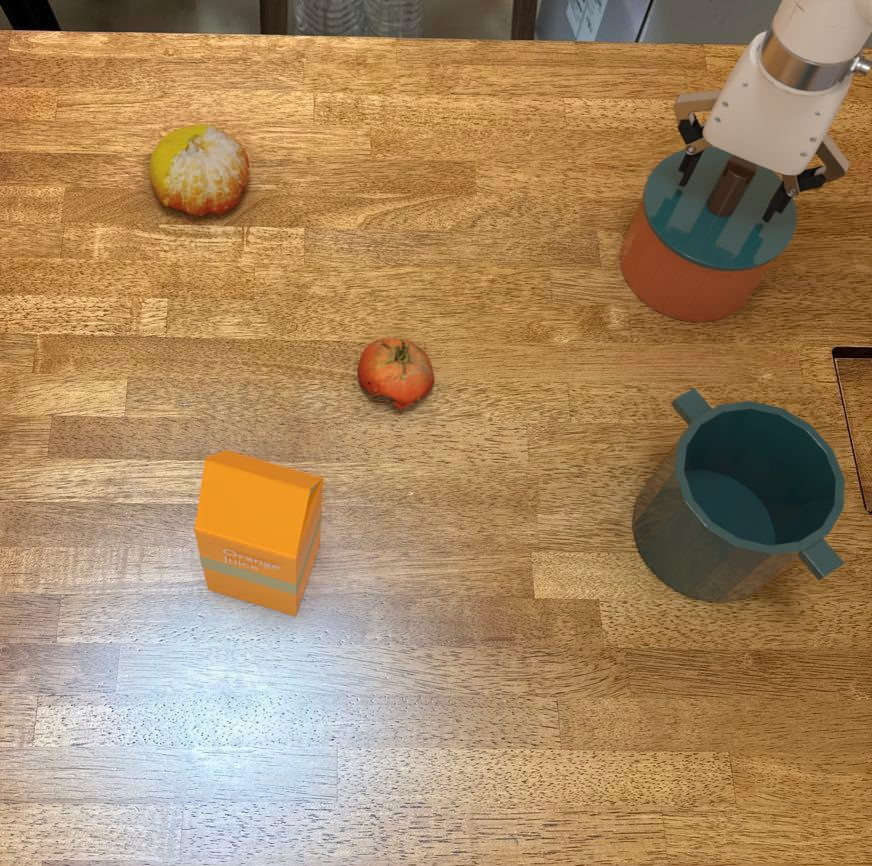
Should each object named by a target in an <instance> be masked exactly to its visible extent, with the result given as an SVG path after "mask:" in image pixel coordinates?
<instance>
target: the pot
mask: <svg viewBox="0 0 872 866" xmlns="http://www.w3.org/2000/svg"><path fill="white" fill-rule="evenodd" d="M670 405H671V407H672V408H673V409H674V410H675V411H676V412H677V414H678V415H679V416H680V418H681V419H682V420H683V421H684V422H685V423H686V425H687V426H688V427H686V429H685V430H684V432H683V433H682V435H681V436H680V437H679V438H678V440H677V441H676V442H675V444H674V445H673V447H672V448H671V450H670V451H669V452H668V454H667V455H666V456H665V458H664V459H663V461H662V462H661V464H660V465H659V466H658V468H657V469H656V470H655V472H654V473H653V475H652V476H651V478H650V479H649V480H648V481H647V484H646V485H645V486H644V488H643V489H642V491H641V492H640V494H639V495H638V497H637V498H636V500H635V505H634V509H633V514H632V533H633V537H634V538H633V539H634V542H635V544H636V548H637V550H638V552H639V554H640V556H641V558H642V560H643V561H644V563H645V564H646V566H647V567H648V568H649V570H650V571H651V572H652V573H653V574H654V575H655V576H656V577H657V578H658V579H659V580H660V581H661V582H662V583H663V584H665V585H666V586H668V587H669V588H671V589H672V590H674V591H676V592H677V593H679V594H681V595H684V596H687V597H689V598H692V599H696V600H698V601H703V602H709V603H727V602H733V601H738V600H741V599H745V598H748V597H750V596H751V595H753V594H754V593H756V592H758V591H759V590H761V589H762V588H764V587H765V586H768V584H770V583H771V582H772V581H774V579H776V578H777V577H779V575H781V574H782V573H783V572H784V571H785V570H787V569H788V568H790V567H791V566H792V565H793V564H794V563H795V562H796V561H798V560H799V559H800V561H801V562H802V563H803V564H804V565H805V567H806V568H807V569H808V570H809V571H810V573H811V574H812V575H813V576H814V577H815V579H816V580H818V581H821V580H823V579H824V578H826V577H827V576H829V575H830V574H832V573H833V572H835V571H836V570H838V569H840V568H842V566H844V565H845V562H844V560H843V559H842V558H841V557H840V556H839V554H837V553H836V551H835V550H834V549H833V548H832V546H831V545H830V544H829V543H828V542H827V540H826V539H825V538H826V537H828V535H830V533H831V532H832V530H833V528H834V526H835V525H836V523H837V521H838V519H839V518H840V516H841V514H842V513H843V510H844V509H845V487H846V486H845V485H846V479H845V476H844V474H843V471H842V469H841V466H840V463H839V461H838V458H837V456H836V453H835V451H834V449H833V448H832V447H831V446H830V445H829V443H828V442H827V441H826V440H825V439H824V437H823V436H821V434H820V433H819V432H818V431H817V430H816V429H815V428H814V426H813V425H811V424H810V423H808V422H807V421H805V420H803V419H801V418H800V417H798V416H797V415H794V414H793V413H791V412H790V411H788V410H787V409H785V408H783V407H780V406H774V405H770V404H767V403H761V402H756V401H753V400H752V401H751V400H746V401H737V402H730V403H721V404H718V405H716V406H714V407H712V406H711V405H710V404H709V403H708V402H707V401H706V400H705V398H704V397H703V396H702V395H701V394H700V392H698V390H697V389H696V388H695V387H694V388H691V389H690V390H688V391H686V392H684V393H682V394H680V395H679V396H677V397H675V398H674V399H673V401H672V402H671V404H670Z"/></svg>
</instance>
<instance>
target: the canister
mask: <svg viewBox="0 0 872 866" xmlns="http://www.w3.org/2000/svg"><path fill="white" fill-rule="evenodd" d="M622 243H623V244H622ZM622 243H621V247H620V252H621V253H620V252H619V253H620V254H619V261H620V262H621V263H620V268H621V273H622V275H623V277H624V279H625V282H626V283H627V285H628V287H629V288H630V290H631V291H632V292H633V293H634V294H635V295H636V297H637V298H639V299H640V301H642V302H643V303H644V304H645V305H647V307H649V308H651V309H652V310H654V311H656V312H657V313H659V314H662V315H664V316H667V317H669V318H671V319H675V320H679V321H685V322H692V323H705V322H706V323H707V322H713V321H718V320H721V319H724V318H727V317H729V316H731V315H733V314H735V313H736V312H737V311H739V310H740V309H742V307H743V306H744V305H745V304H746V303H747V302H748V301H749V299H750V298H751V296H753V294H755V292H756V290H757V289H758V287H759V286H760V284H761V283H762V281H763V280H764V278H765V277H766V275H767V274H768V273H769V271H770V269H771V268H772V267H773V265H774V264H775V262H776V261H777V259H778V257H777V258H776V259H774V260H773V261H771V262H769V263H767V264H765V265H763V266H761V267H758V268H754V269H751V270H745V271H733V272H731V271H719V270H712V269H708V268H705V267H701V266H698V265H696V264H693V263H691V262H689V261H687V260H685V259H683V258H681V257H680V256H678V255H676V254H675V253H673V252H672V251H671V250H670V249H668V248H667V247H666V246H665V245H664V244H663V243H662V242H661V241H660V240H659V239H658V238H657V236H656V235H655V234H654V233H653V231H652V229H651V228H650V226H649V224H648V222H647V219H646V217H645V213H644V210H643V196H642V198H641V199H640V202H639V204H638V206H637V209H636V211H635V213H634V215H633V218H632V220H631V222H630V224H629V226H628V228H627V231H626V234H625V236H624V238H623V241H622Z"/></svg>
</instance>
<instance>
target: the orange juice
mask: <svg viewBox="0 0 872 866" xmlns="http://www.w3.org/2000/svg"><path fill="white" fill-rule="evenodd" d="M202 471H203V472H202V475H201V476H202V477H201V483H200V491H199V497H198V504H197V510H196V511H197V512H196V516H195V517H196V518H195V524H194V527H193V531H194V535H195V539H196V544H197V548H198V549H197V550H198V552H199V560H200V564H201V567H202V571H203V575H204V578H205V583H206V587H207V591H210V592H214V593H217V594H221V595H223V596H227V597H231V598H234V599H237V600H240V601H243V602H246V603H250V604H253V605H257V606H260V607H264V608H266V609H270V610H273V611H276V612H280V613H283V614H286V615H290V616H293V617H297V614H298V612H299V609H300V606H301V602H302V599H303V596H304V593H305V592H306V588H307V585H308V582H309V579H310V576H311V573H312V570H313V567H314V564H315V561H316V558H317V555H318V552H319V549H320V546H321V527H322V519H323V493H324V492H323V491H324V477H321V476H317V475H314V474H311V473H307V472H303V471H301V470H297V469H294V468H289V467H286V466H283V465H279V464H276V463H273V462H269V461H265V460H262V459H259V458H256V457H251V456H248V455H246V454H242V453H238V452H235V451H231V450H227V449H224V450H222V451H220V452H217V453H214V454H211V455H210V456H206V457H205V458H204V463H203V470H202Z"/></svg>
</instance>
